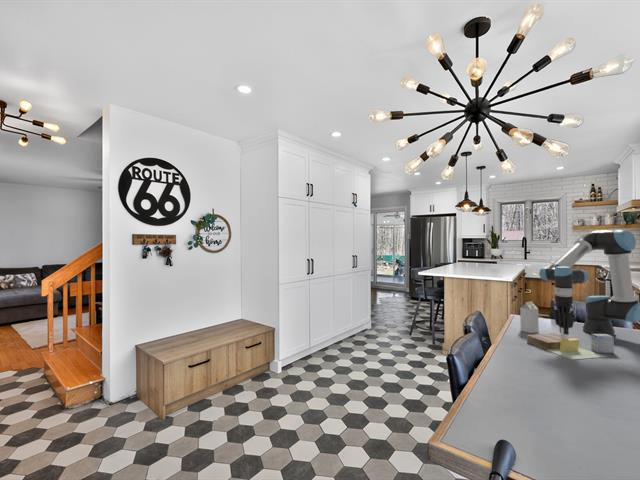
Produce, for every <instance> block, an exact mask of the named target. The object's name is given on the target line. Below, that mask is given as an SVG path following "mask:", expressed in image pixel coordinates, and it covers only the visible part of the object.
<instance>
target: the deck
mask: <svg viewBox="0 0 640 480" xmlns="http://www.w3.org/2000/svg"><path fill="white" fill-rule="evenodd" d="M568 339H572V337H571V338H570V337H568ZM526 342H527V343H529V344H531V345H534V346H536V347H539V348H542V349H545V350H546V351H547V350H550V349H560V344H561V334H557V333H556V332H555V333H553V332H552V333H551V332H550V333H538V334H536V333H534V334H527V335H526Z"/></svg>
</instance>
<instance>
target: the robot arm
mask: <svg viewBox="0 0 640 480" xmlns="http://www.w3.org/2000/svg"><path fill="white" fill-rule="evenodd" d="M636 245H637V240H636V237H635V235H634V234H633V233H632V232H631V231H630V230H627V229H607V230H602V229H601V230H600V229H599V230H594V231H590V232H588V233H586V234H584V235H582V236H580V237H579V238H578V239H577V240H575V241H574V242H573V246H571V247H570V248H568V249H567V251H566V252H564V253H563V254H562V255H561V256H560V257H559V258H557V259H556V260H555V261H554V262H553V263H552V264H551V265H550V266H549V267H542V268H540V269H539V271H538V273H539V274H538V275H539V278H541V279H542V280H543V281H548V282H549V281H550V282H554V302H555V305H554V306H551V310H552V312H553V317H554V322H555V325H556V326H558V327H559V333H560V335H561V339H568V338H569V336H568V335H569V329H572V328H573V326H574V322H575V318H576V315H577V314H578V311H577V310H574V309H573V303H574V302H573V301H574V300H573V298H574V297H573V296H574V295H573V285H574V284H575V285H576V284H577V285H578V284H585V283H586V282H588V281H589V279H590V276H589V273H588V272H587V271H586V270H584V269H578V268H576V269H573V268H572V267H573V266H574V265H575V264H576V263H577V262H578V261H579V260H581V259H582V258H583V257H585V255H586V254H590V253H591V252H592V251H596V250H598V251H599V250H600V251H603V254H604V255H605V256H606V257H607V259H608V265H609V273H610V280H611V287H612V288H611V289H612V294H613V295H612V296H609V295H589V296H588V295H587V296H586V298H585V316H586V317H585V320H584V323H583V326H582V332H583V333H587V334H590V335H591V334H608V335H611V336H613V337H614V336H615V335H616V331H615V329H614V327H613V324H612V320H617V321H623V322H626V323H634V324H636V323H639V322H640V302H639V299H638V297H636V296H635V295H634V289H633V281H632V273H631V267H630V259H629V256H630V255H631V254H632V251H633V250H635V248H636ZM541 279H540V280H541Z"/></svg>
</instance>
